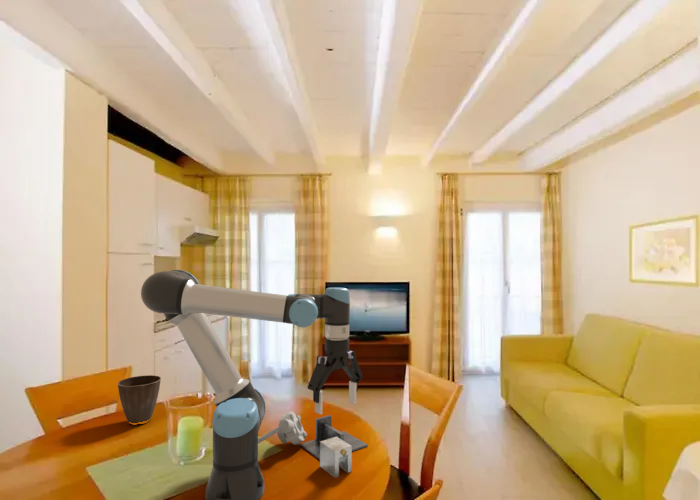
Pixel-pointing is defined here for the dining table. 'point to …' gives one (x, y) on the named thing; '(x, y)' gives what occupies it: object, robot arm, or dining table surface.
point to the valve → (288, 430)
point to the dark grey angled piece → (326, 432)
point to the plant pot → (139, 397)
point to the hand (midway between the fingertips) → (336, 407)
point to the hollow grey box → (335, 456)
